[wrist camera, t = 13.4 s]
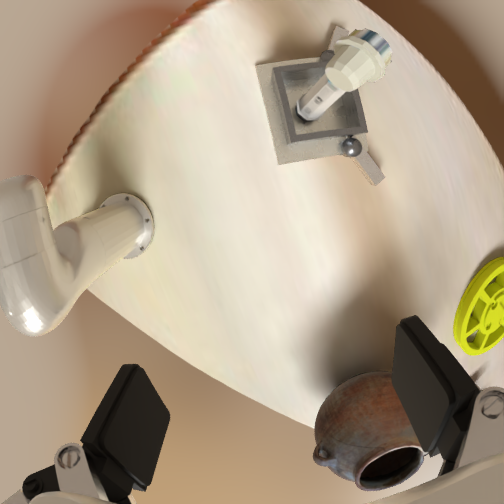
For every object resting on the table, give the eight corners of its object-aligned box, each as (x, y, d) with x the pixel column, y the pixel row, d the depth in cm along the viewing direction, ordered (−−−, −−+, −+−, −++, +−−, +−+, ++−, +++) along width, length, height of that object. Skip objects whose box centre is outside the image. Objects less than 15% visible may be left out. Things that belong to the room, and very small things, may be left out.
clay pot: (398, 326, 55) (462, 423, 26) (408, 388, 61) (447, 470, 33) (293, 371, 59) (306, 488, 30) (323, 424, 66) (339, 514, 37)
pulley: (460, 362, 59) (468, 372, 55) (442, 303, 53) (453, 313, 48) (519, 305, 54) (528, 312, 49) (510, 235, 47) (522, 241, 42)
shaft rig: (285, 199, 47) (289, 205, 40) (248, 39, 38) (246, 22, 31) (380, 182, 45) (398, 187, 39) (343, 30, 36) (354, 15, 29)
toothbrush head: (286, 109, 41) (316, 56, 17) (311, 83, 39) (360, 16, 16) (311, 130, 42) (366, 99, 18) (335, 103, 40) (405, 56, 17)
